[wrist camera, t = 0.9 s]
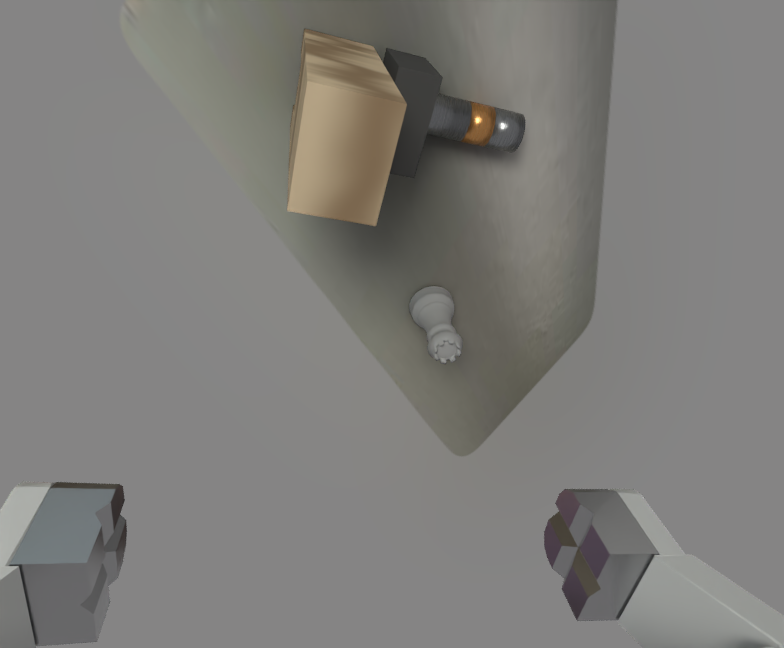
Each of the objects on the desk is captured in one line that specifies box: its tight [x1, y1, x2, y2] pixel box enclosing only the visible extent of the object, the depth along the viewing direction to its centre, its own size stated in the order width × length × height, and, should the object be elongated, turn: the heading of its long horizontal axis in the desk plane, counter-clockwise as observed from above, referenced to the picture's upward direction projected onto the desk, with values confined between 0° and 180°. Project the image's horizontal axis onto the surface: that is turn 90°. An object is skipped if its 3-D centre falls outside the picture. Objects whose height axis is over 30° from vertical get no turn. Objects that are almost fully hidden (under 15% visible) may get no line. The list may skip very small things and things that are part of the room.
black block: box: [383, 48, 443, 178], centre depth 40 cm, size 3×7×6 cm, turn 165°
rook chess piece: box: [409, 286, 463, 364], centre depth 51 cm, size 4×4×8 cm
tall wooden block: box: [287, 29, 407, 226], centre depth 35 cm, size 5×7×16 cm
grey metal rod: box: [427, 94, 525, 153], centre depth 42 cm, size 15×3×3 cm, turn 75°
